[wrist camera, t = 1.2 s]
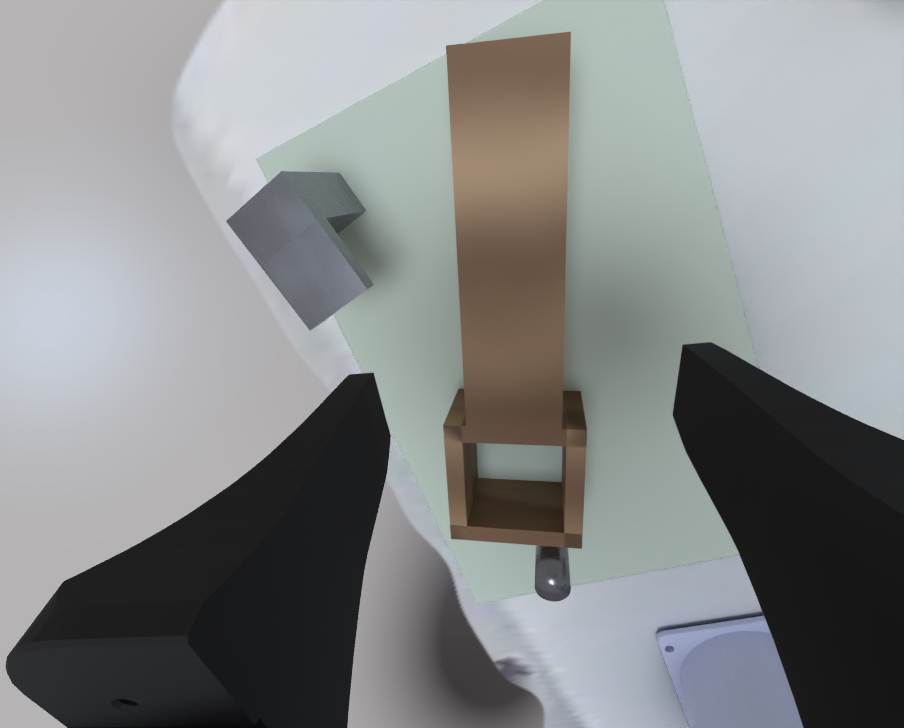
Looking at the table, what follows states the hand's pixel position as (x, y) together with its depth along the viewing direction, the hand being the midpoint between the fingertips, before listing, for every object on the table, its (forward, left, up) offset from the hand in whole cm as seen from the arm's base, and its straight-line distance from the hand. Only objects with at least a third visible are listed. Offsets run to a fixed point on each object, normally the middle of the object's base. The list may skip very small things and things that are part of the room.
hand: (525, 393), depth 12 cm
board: (-3, +1, -12) cm, 13 cm away
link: (-1, +1, -12) cm, 12 cm away
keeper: (+5, +7, -12) cm, 15 cm away
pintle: (-12, +3, -12) cm, 17 cm away
